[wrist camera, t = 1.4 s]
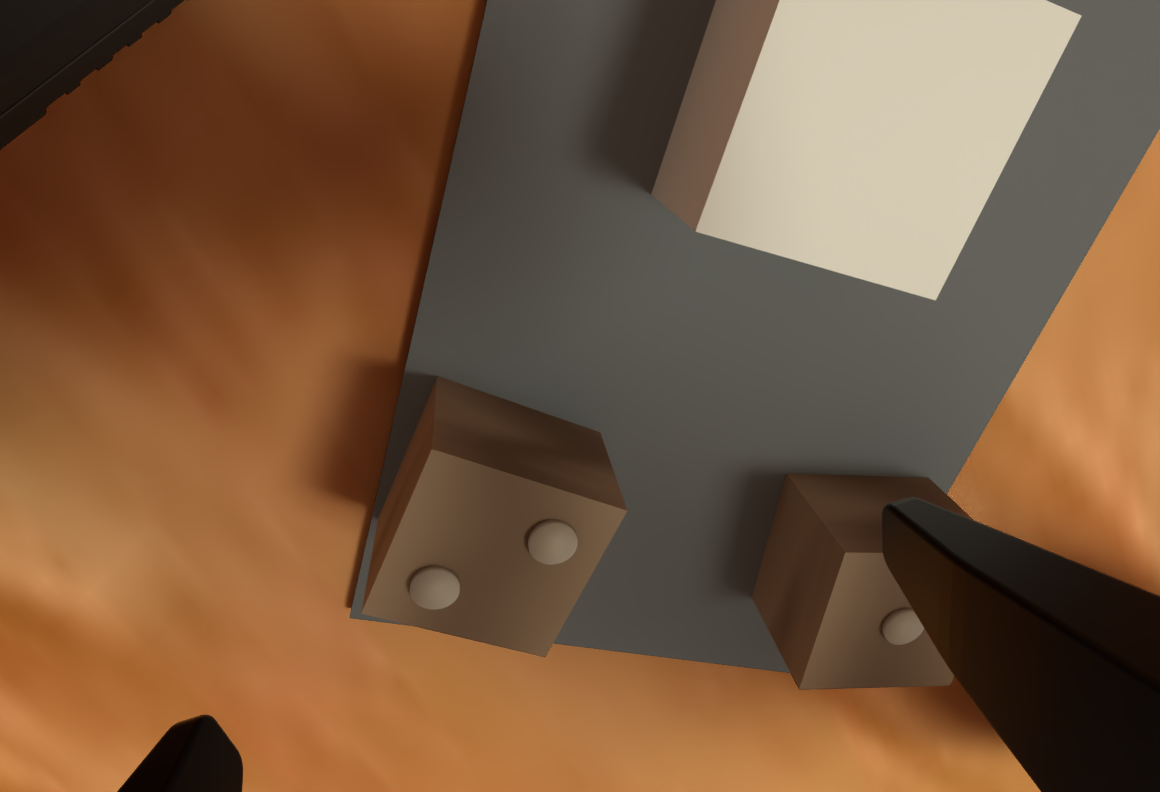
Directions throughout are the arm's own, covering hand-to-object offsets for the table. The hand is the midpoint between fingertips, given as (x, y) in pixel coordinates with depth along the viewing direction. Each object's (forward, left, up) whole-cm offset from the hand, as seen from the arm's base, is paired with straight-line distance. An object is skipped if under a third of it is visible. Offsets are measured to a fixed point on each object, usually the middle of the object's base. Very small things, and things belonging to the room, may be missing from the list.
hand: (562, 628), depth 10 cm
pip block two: (-1, +5, -11) cm, 12 cm away
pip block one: (-13, +5, -11) cm, 18 cm away
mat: (-7, -2, -12) cm, 14 cm away
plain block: (-6, -7, -11) cm, 15 cm away
